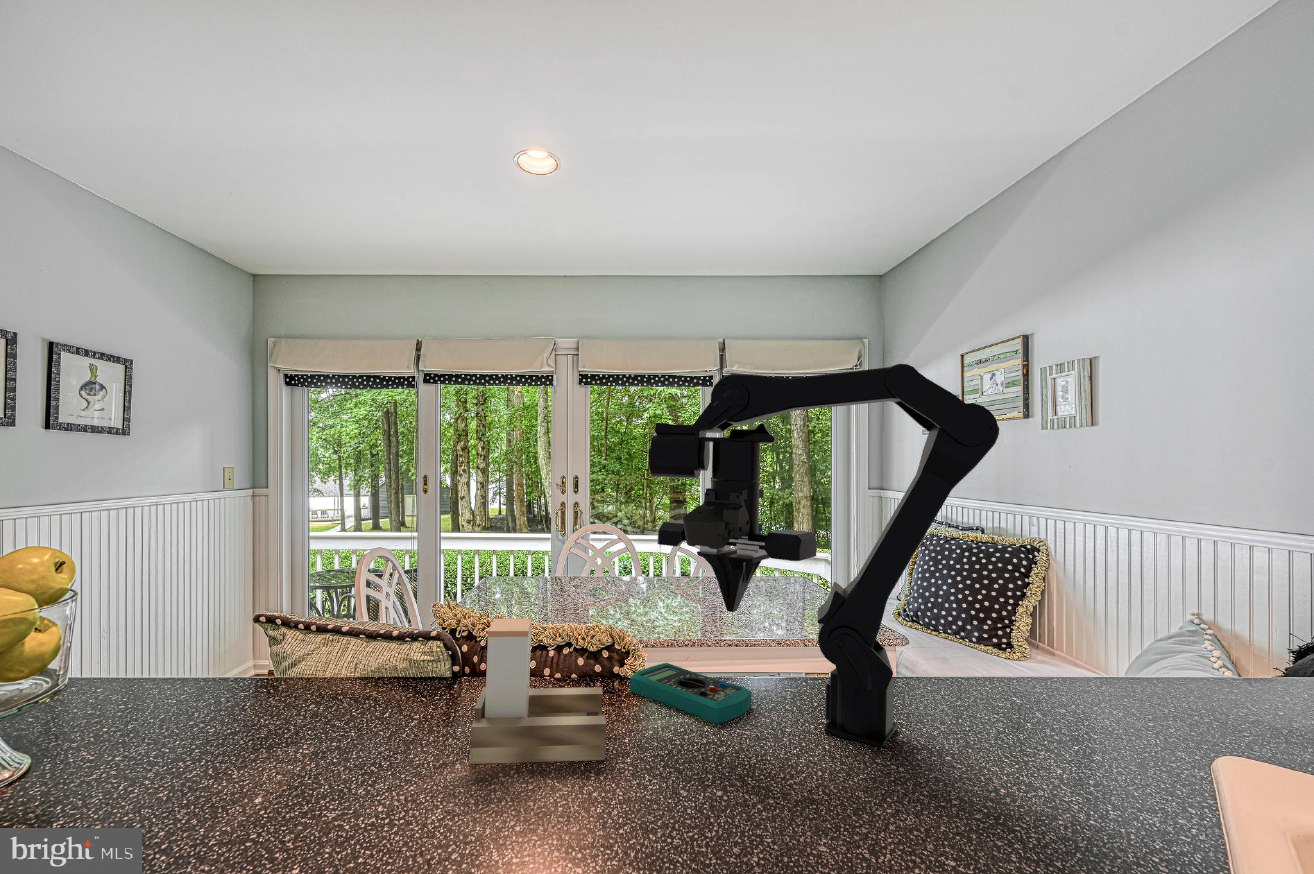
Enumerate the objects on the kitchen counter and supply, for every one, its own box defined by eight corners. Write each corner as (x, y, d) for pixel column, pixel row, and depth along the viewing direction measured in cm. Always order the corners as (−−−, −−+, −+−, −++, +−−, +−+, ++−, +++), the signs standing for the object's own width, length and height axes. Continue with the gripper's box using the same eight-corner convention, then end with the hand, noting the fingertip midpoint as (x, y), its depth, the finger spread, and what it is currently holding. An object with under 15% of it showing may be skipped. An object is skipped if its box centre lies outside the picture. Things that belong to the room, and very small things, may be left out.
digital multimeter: (720, 730, 71) (721, 703, 71) (626, 694, 81) (627, 671, 81) (756, 712, 77) (756, 688, 77) (664, 681, 87) (665, 659, 87)
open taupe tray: (600, 718, 72) (602, 678, 72) (604, 759, 62) (606, 713, 62) (484, 720, 71) (486, 680, 71) (469, 764, 61) (471, 716, 61)
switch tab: (528, 712, 69) (531, 618, 69) (524, 732, 64) (528, 630, 64) (490, 713, 68) (494, 618, 69) (484, 733, 63) (488, 631, 64)
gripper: (633, 477, 75) (628, 610, 74) (780, 485, 64) (776, 641, 63) (683, 477, 84) (679, 595, 83) (819, 483, 73) (816, 619, 72)
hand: (731, 611), depth 75 cm, fingers closed
